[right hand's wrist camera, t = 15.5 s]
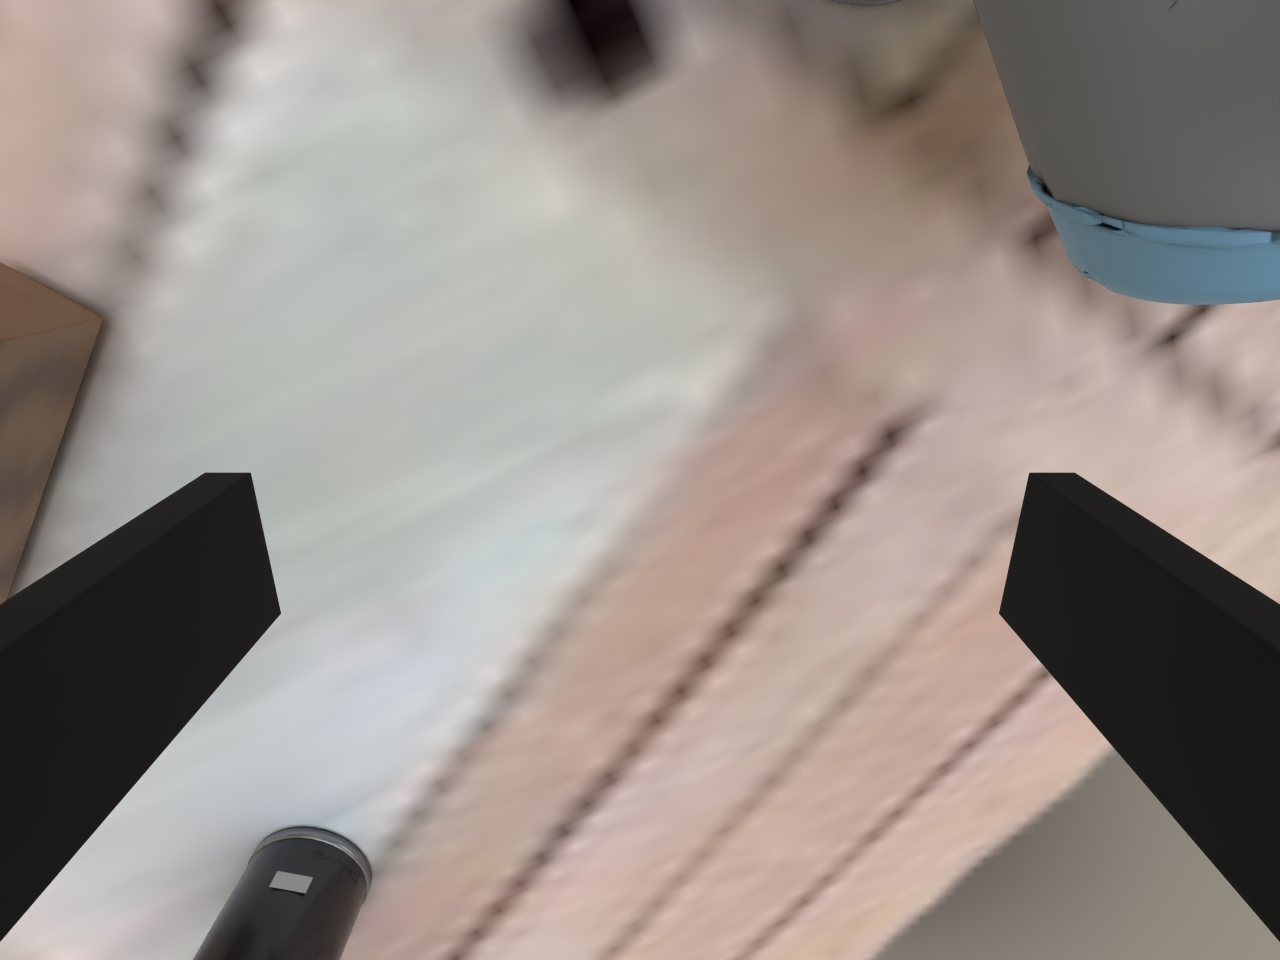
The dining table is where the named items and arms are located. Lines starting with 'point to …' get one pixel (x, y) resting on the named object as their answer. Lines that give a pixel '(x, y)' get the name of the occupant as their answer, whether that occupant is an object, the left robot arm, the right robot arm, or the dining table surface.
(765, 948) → the dining table surface
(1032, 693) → the dining table surface
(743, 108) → the dining table surface
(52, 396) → the box
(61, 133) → the dining table surface
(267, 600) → the right robot arm
